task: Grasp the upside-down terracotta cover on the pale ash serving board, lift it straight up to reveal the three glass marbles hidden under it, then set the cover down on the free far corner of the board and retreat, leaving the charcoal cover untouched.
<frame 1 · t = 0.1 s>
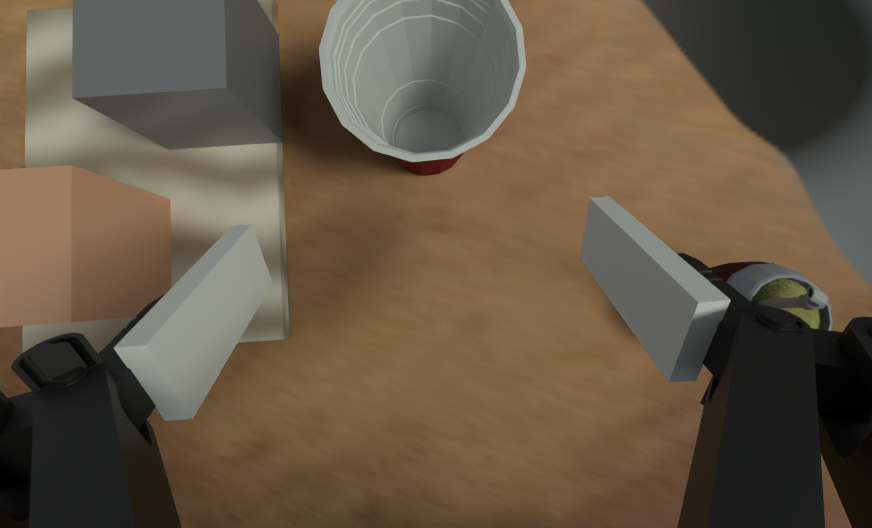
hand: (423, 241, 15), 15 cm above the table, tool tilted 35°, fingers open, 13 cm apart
plastic cup: (427, 145, 31), on the table
charcoal cover: (224, 91, 30), point 1 cm above the table, touching serving board
terracotta cover: (113, 259, 29), point 1 cm above the table, touching serving board
serving board: (162, 174, 31), on the table
mate gourd: (688, 310, 30), on the table
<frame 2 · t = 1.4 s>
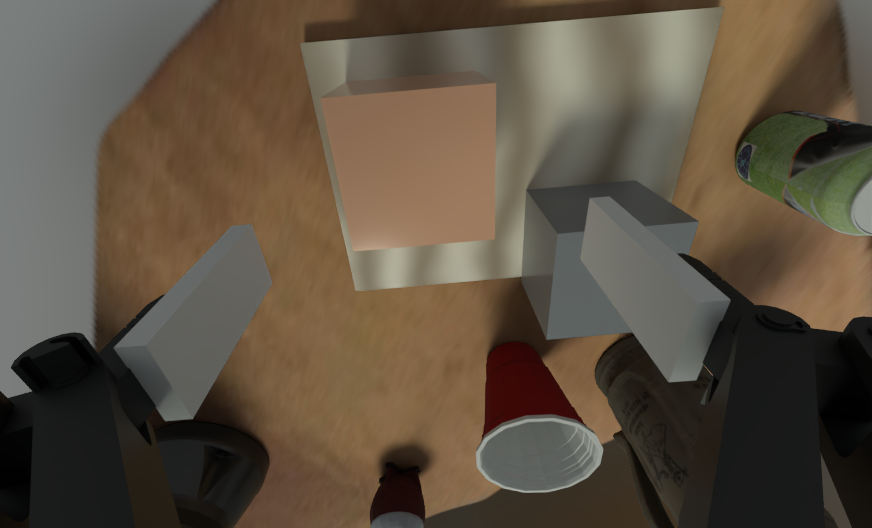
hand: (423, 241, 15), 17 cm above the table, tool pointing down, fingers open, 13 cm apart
plastic cup: (509, 358, 43), on the table
charcoal cover: (574, 234, 33), point 1 cm above the table, touching serving board
terracotta cover: (416, 142, 28), point 1 cm above the table, touching serving board
beverage can: (757, 146, 31), on the table
serving board: (505, 168, 31), on the table
mate gourd: (399, 470, 53), on the table
beer stein: (632, 377, 45), on the table
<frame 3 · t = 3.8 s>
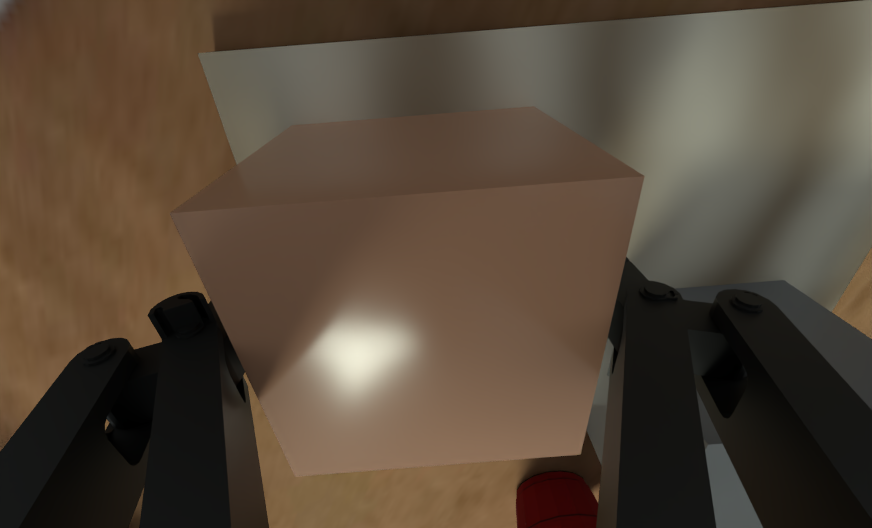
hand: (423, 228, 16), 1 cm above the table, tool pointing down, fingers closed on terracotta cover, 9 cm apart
plastic cup: (547, 487, 31), on the table
charcoal cover: (669, 353, 21), point 1 cm above the table, touching serving board
terracotta cover: (423, 225, 16), point 1 cm above the table, touching gripper, serving board
serving board: (567, 258, 19), on the table
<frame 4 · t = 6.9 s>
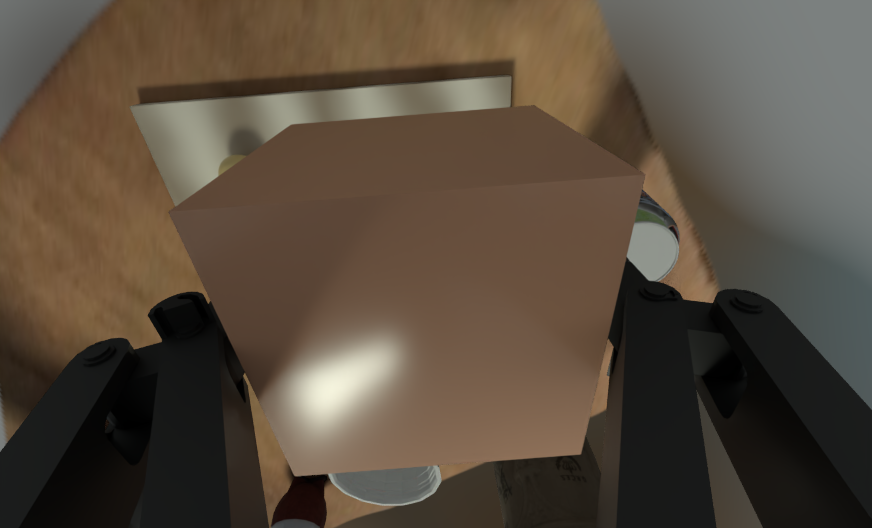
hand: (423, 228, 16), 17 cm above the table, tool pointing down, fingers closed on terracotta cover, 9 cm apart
marble amber: (248, 168, 30), point 1 cm above the table, touching serving board
plastic cup: (391, 377, 45), on the table
terracotta cover: (423, 224, 16), point 17 cm above the table, touching gripper
beverage can: (581, 191, 34), on the table
serving board: (348, 211, 34), on the table
mate gourd: (308, 478, 56), on the table
beer stein: (513, 395, 48), on the table
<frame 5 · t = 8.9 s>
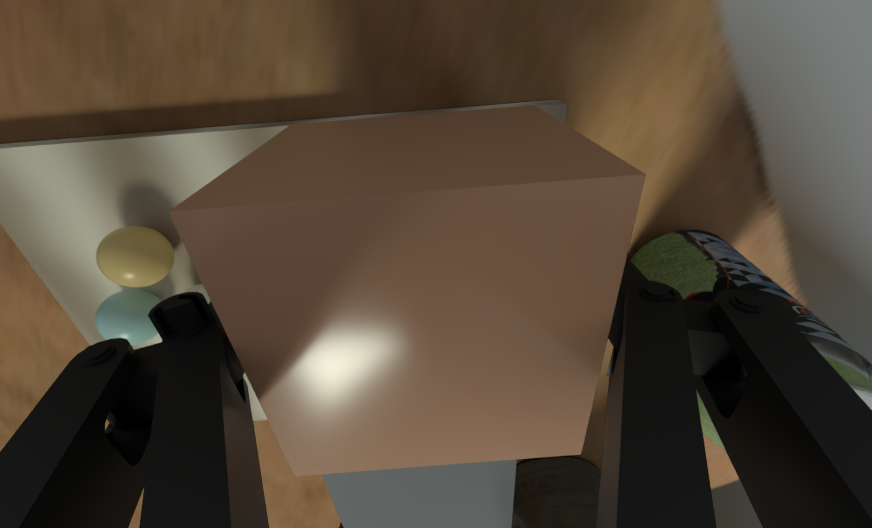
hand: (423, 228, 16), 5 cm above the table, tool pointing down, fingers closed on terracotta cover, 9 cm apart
marble amber: (155, 242, 20), point 1 cm above the table, touching serving board
charcoal cover: (421, 368, 25), point 1 cm above the table, touching serving board
terracotta cover: (423, 224, 16), point 4 cm above the table, touching gripper
marble teal: (149, 300, 22), point 1 cm above the table, touching serving board
beverage can: (653, 263, 23), on the table
serving board: (315, 292, 23), on the table
beer stein: (539, 498, 37), on the table
when the fingers open (3 cm above the table, at t = 10.2 s): terracotta cover drops 1 cm, resting on serving board.
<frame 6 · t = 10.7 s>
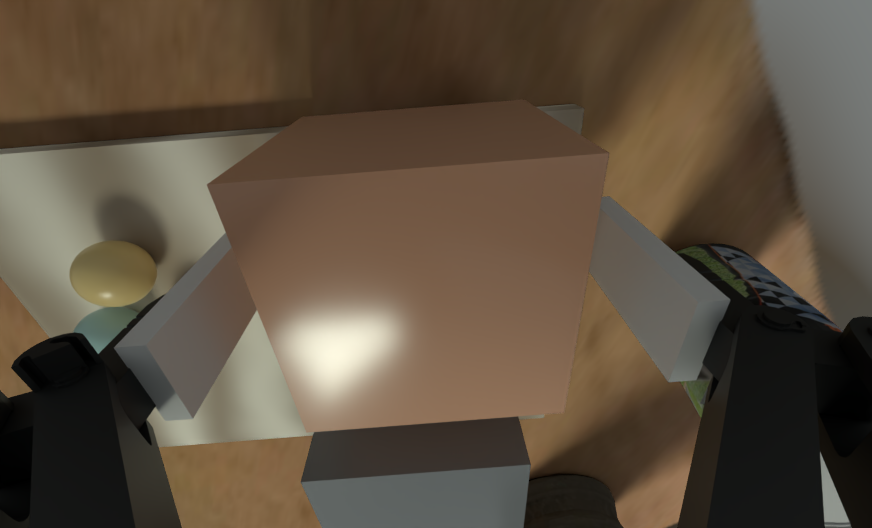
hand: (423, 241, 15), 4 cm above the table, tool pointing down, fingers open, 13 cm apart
marble amber: (136, 256, 18), point 1 cm above the table, touching serving board
charcoal cover: (423, 387, 24), point 1 cm above the table, touching serving board
terracotta cover: (422, 210, 18), point 1 cm above the table, touching serving board
marble teal: (132, 317, 20), point 1 cm above the table, touching serving board
beverage can: (671, 278, 22), on the table
serving board: (310, 308, 22), on the table
beer stein: (545, 515, 36), on the table
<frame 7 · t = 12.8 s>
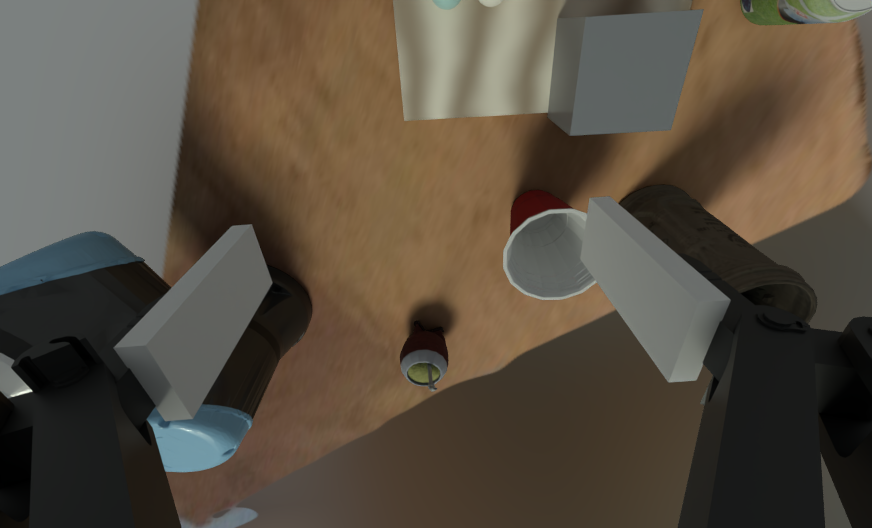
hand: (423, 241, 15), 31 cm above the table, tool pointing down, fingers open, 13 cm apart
plastic cup: (531, 209, 48), on the table
charcoal cover: (596, 68, 38), point 1 cm above the table, touching serving board
serving board: (539, 0, 36), on the table
mate gourd: (425, 331, 59), on the table
beer stein: (640, 238, 50), on the table
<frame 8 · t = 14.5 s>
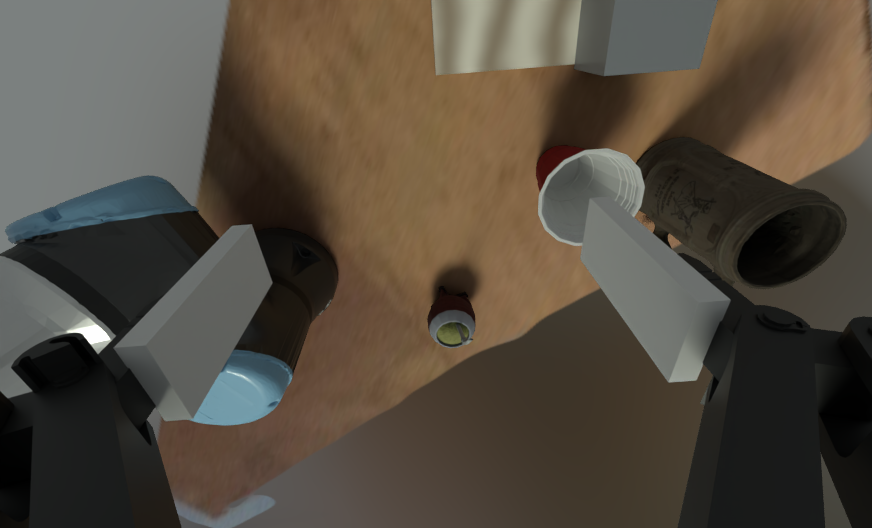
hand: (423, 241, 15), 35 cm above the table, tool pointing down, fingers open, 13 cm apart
plastic cup: (555, 166, 49), on the table
charcoal cover: (621, 18, 40), point 1 cm above the table, touching serving board
mate gourd: (449, 297, 60), on the table
beer stein: (659, 193, 52), on the table
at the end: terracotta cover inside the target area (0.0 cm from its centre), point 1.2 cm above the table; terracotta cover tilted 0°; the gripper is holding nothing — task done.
